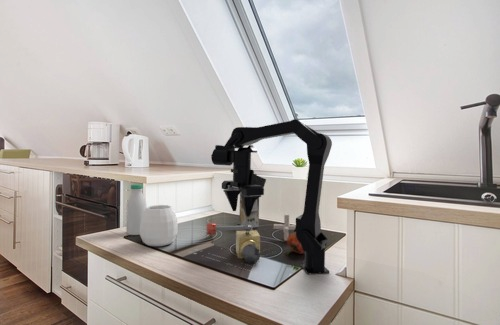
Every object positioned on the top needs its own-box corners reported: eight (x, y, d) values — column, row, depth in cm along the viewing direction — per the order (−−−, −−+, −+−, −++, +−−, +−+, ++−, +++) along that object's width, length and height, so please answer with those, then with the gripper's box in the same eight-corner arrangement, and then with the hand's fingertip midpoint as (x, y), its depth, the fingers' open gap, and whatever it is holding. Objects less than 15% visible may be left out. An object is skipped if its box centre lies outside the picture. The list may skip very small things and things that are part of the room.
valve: (263, 263, 90) (263, 236, 89) (240, 264, 89) (240, 237, 88) (253, 245, 106) (253, 223, 106) (234, 246, 105) (234, 223, 105)
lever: (251, 231, 99) (251, 221, 99) (253, 233, 96) (253, 223, 96) (206, 232, 97) (206, 222, 97) (206, 235, 93) (207, 225, 93)
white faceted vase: (139, 239, 111) (140, 204, 111) (175, 237, 116) (175, 203, 115) (139, 251, 99) (140, 211, 98) (179, 247, 103) (180, 209, 103)
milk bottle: (146, 234, 118) (147, 185, 118) (126, 236, 115) (126, 185, 115) (146, 229, 125) (146, 183, 125) (126, 231, 123) (126, 183, 122)
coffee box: (259, 227, 133) (260, 192, 133) (246, 228, 130) (247, 192, 130) (250, 222, 142) (251, 189, 141) (238, 223, 139) (239, 190, 138)
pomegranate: (297, 265, 95) (318, 243, 98) (284, 248, 93) (305, 227, 97) (287, 259, 102) (306, 239, 105) (274, 243, 100) (294, 224, 104)
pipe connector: (298, 245, 108) (299, 218, 108) (271, 242, 110) (272, 216, 110) (299, 237, 118) (300, 212, 118) (275, 235, 120) (275, 211, 120)
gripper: (278, 167, 92) (277, 217, 92) (248, 164, 108) (247, 206, 108) (248, 168, 86) (246, 220, 87) (221, 164, 102) (220, 209, 103)
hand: (240, 213), depth 96 cm, fingers open, 9 cm apart
